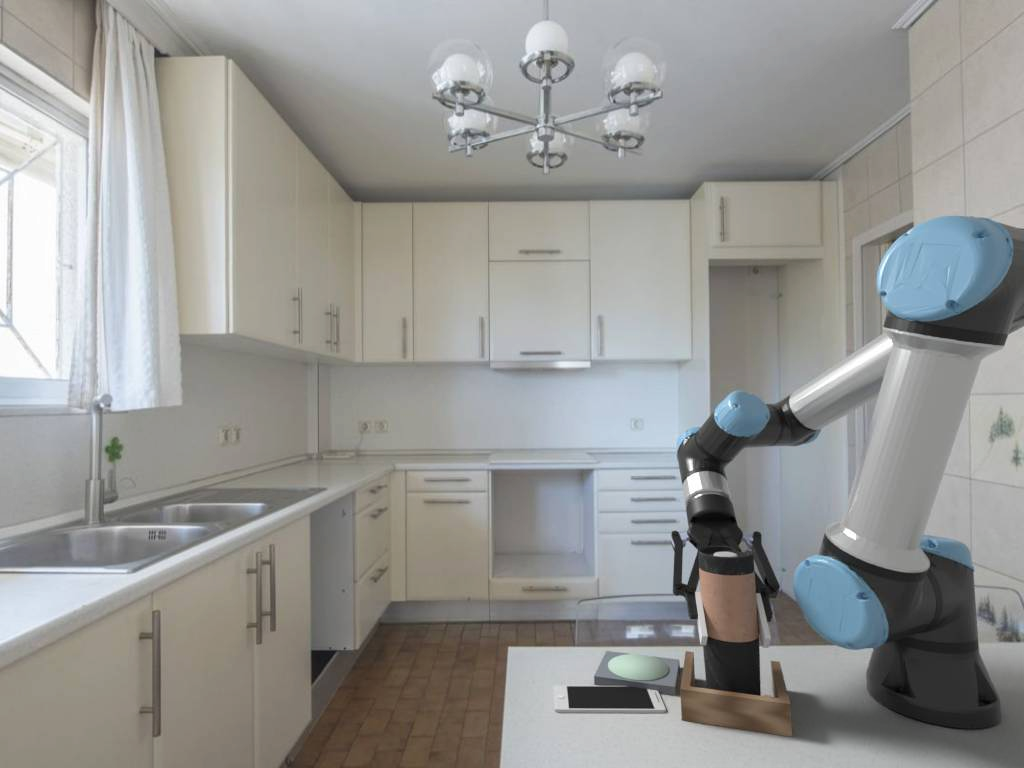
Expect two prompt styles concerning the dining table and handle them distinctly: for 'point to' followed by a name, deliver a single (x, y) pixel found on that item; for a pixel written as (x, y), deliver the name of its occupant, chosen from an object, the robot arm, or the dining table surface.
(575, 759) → the dining table surface
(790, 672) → the dining table surface
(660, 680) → the dock pad
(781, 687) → the mug cradle
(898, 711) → the robot arm
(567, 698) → the smartphone
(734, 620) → the travel mug
